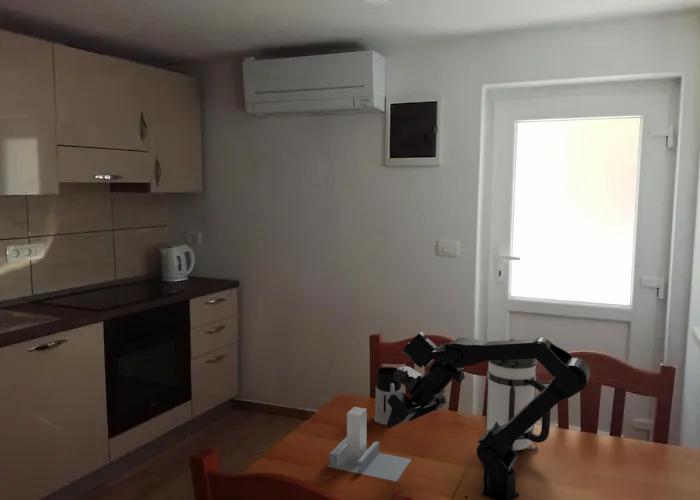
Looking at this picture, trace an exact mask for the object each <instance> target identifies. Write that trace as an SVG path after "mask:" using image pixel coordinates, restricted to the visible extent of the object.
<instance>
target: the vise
mask: <svg viewBox="0 0 700 500" xmlns="http://www.w3.org/2000/svg"><path fill="white" fill-rule="evenodd" d="M411 461H412V459H411V458H406V457H401V456H397V455H392V454H387V453H382V452H380V441H377V440H376V441H374V442H373V443H372V445H371V446H370V447H369V448H368V449H366V453H365V454H364V455H363V456H362V457H361V458H360V459H359V461H358V465H356V464H351V463H347V436H345V437H344V438H343V439H342V441H340V442H339V444H337V446H335V447H334V448H333V449H332V450H331V452H329V464H328V465H327V467H328V468H332V469H336V470H337V469H338V470H342V471H345V472H350V473H354V474H360V475H364V476H369V477H372V478H373V477H374V478H378V479H383V480H387V481H391V482H395V483H396V482H397V481H398V480H399V478H400V477H401V476H402V474H403V473H404V471H405V470H406V469H407V467H408V466H409V464H410V462H411Z"/></svg>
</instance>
